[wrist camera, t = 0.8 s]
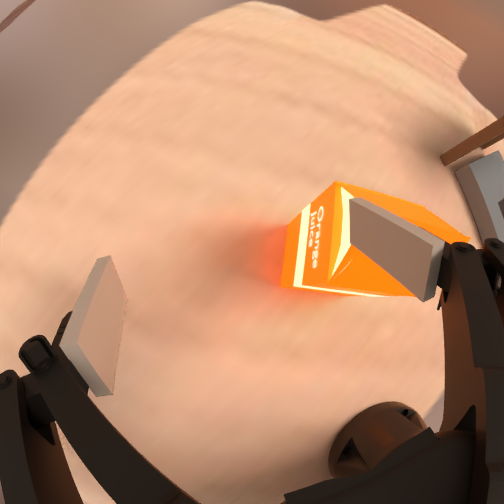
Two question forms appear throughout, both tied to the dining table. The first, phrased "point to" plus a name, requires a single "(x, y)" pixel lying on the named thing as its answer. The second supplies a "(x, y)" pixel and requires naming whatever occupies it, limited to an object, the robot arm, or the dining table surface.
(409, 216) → the orange juice
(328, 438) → the dining table surface
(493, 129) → the awning
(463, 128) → the dining table surface
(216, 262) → the dining table surface
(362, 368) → the dining table surface
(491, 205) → the socket block
